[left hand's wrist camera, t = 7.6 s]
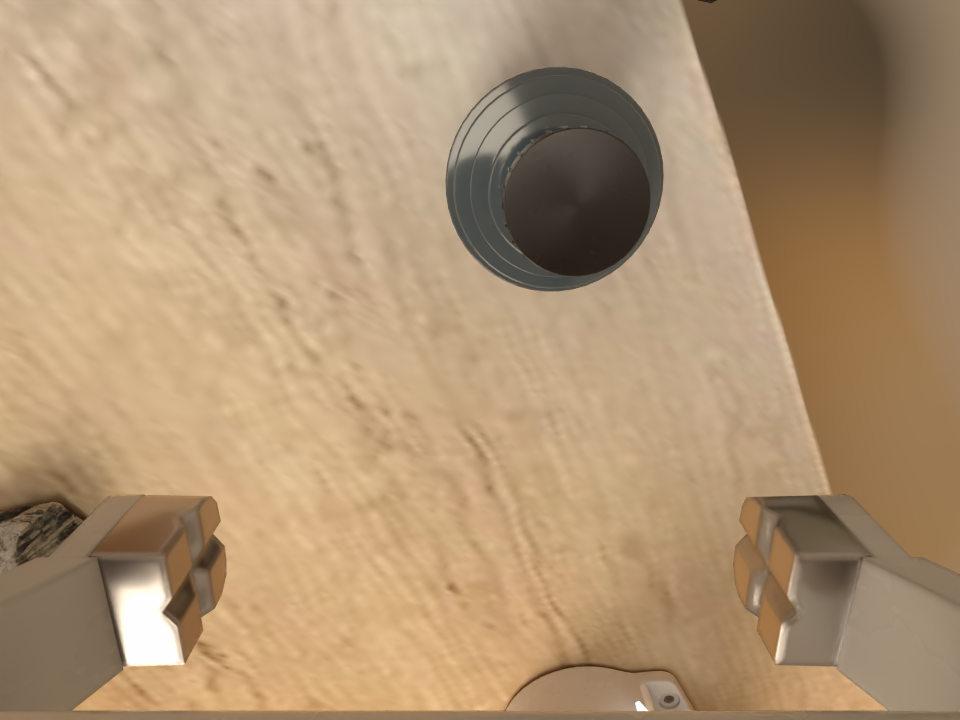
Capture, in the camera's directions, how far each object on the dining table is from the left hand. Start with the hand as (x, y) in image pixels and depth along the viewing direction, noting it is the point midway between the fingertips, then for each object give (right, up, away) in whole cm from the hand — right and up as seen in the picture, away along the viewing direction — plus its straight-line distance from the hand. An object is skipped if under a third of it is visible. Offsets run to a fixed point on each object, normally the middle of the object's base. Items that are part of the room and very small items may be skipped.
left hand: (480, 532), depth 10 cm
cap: (+3, +7, +9) cm, 11 cm away
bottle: (+3, +15, +32) cm, 36 cm away
